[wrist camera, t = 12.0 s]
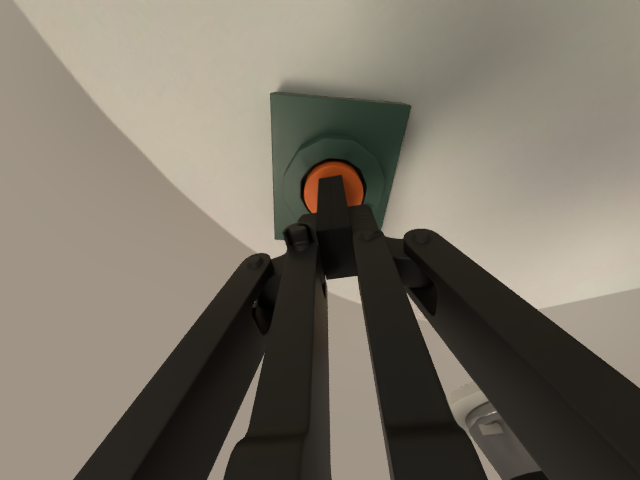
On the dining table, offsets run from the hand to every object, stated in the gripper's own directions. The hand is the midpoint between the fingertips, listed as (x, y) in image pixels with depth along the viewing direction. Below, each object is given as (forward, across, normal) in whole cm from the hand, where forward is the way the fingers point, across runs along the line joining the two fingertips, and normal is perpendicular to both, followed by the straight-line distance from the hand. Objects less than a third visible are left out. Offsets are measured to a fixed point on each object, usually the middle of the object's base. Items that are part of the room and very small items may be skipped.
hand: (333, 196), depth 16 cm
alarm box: (+5, 0, 0) cm, 5 cm away
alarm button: (+2, 0, 0) cm, 2 cm away
